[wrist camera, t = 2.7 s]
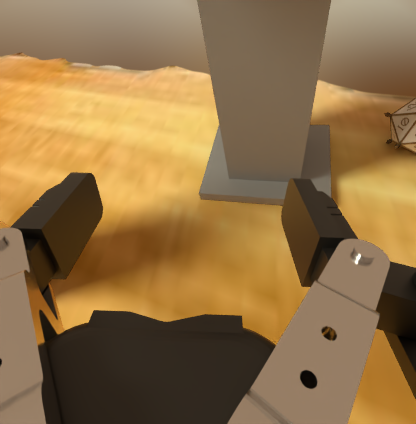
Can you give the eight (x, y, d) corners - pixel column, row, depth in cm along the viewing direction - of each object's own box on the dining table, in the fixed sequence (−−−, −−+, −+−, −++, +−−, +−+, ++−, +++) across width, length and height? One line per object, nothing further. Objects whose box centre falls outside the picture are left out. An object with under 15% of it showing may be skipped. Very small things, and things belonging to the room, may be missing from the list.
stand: (197, 210, 38) (19, -246, 11) (220, 132, 47) (154, -234, 19) (329, 221, 34) (642, -565, 6) (327, 132, 42) (449, -358, 14)
